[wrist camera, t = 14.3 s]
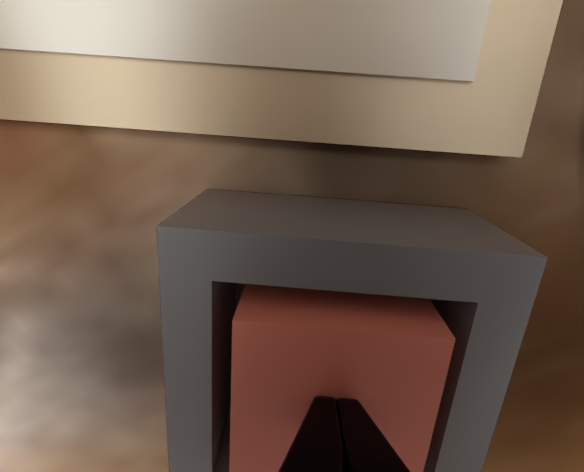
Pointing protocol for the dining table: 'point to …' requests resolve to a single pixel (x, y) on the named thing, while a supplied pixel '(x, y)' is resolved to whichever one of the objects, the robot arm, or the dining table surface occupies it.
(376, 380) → the button
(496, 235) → the button housing
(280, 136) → the board
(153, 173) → the dining table surface
